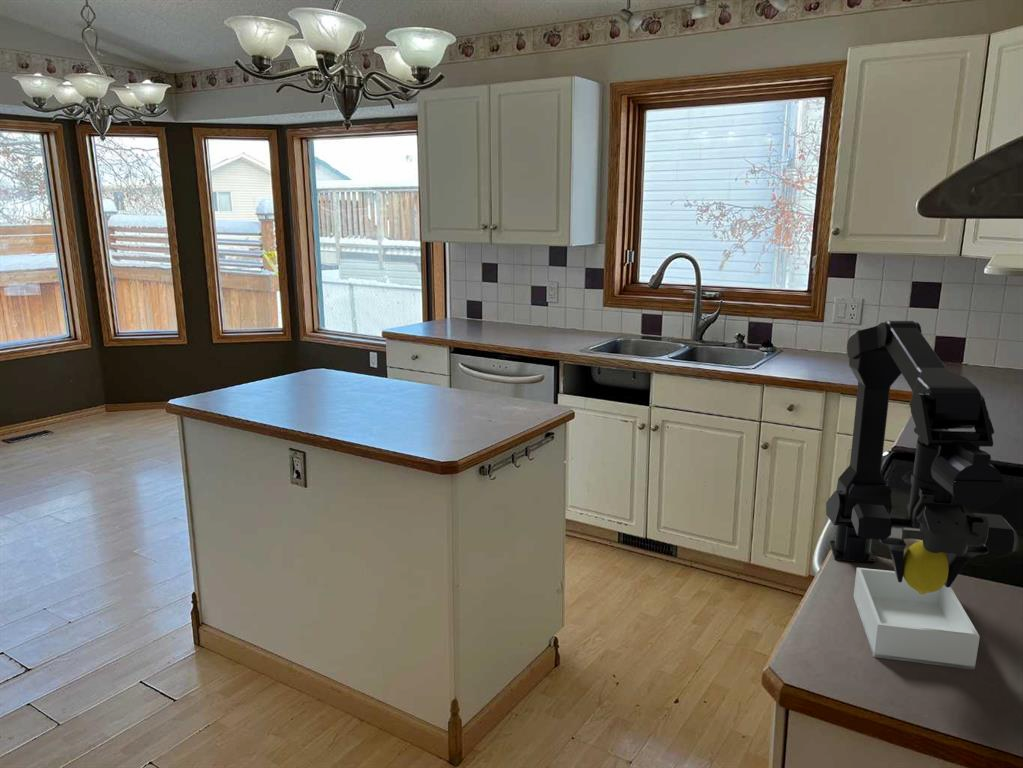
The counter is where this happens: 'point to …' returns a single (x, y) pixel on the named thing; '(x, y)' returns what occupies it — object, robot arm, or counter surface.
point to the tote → (914, 621)
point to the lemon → (925, 569)
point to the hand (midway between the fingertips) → (922, 583)
